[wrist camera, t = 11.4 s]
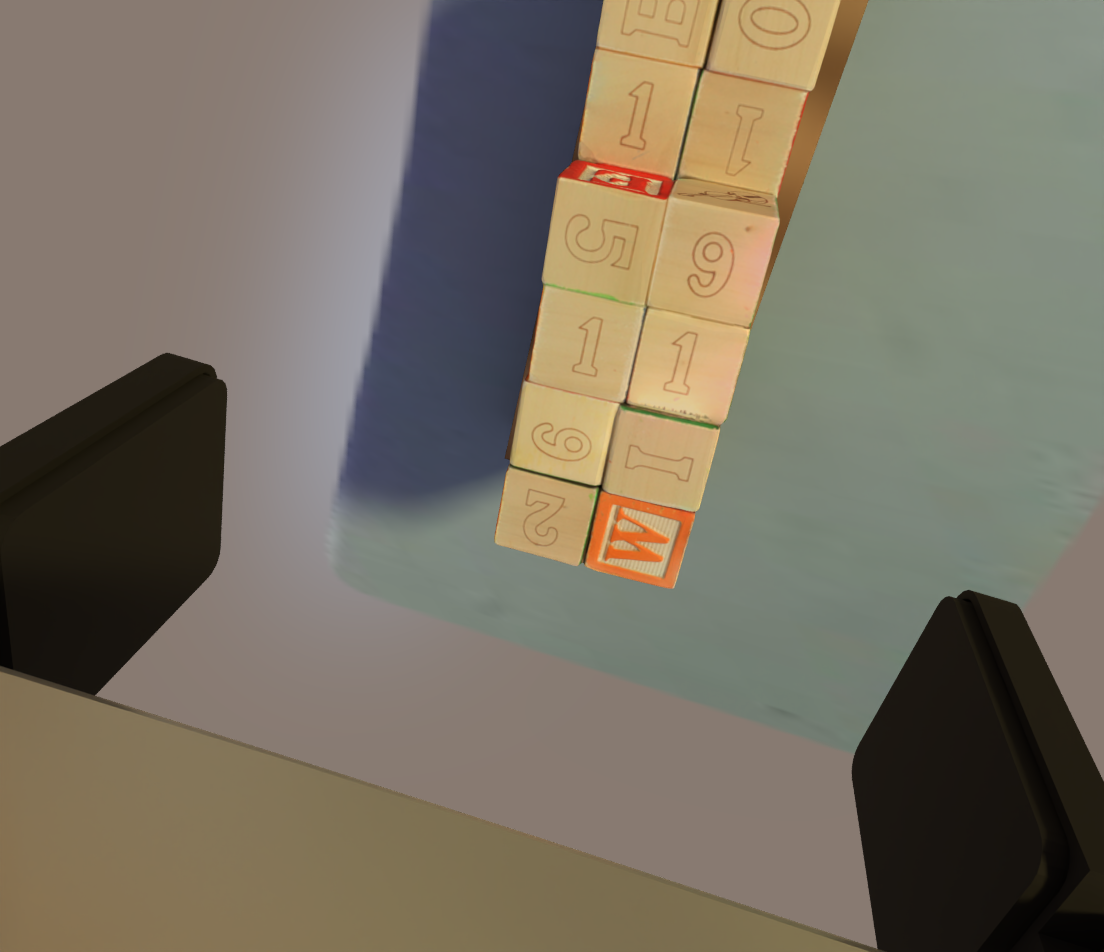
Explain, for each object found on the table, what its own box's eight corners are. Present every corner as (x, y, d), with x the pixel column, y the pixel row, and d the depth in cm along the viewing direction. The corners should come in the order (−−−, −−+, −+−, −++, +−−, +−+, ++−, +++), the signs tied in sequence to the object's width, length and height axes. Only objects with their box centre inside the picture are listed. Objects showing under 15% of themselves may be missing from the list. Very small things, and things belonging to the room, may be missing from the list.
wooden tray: (669, -221, 31) (663, -246, 28) (915, -161, 31) (934, -180, 28) (518, 432, 44) (503, 461, 41) (688, 482, 44) (685, 514, 41)
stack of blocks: (669, -159, 29) (630, -267, 19) (854, -124, 29) (923, -214, 18) (556, 407, 40) (488, 549, 29) (690, 441, 39) (672, 597, 28)
